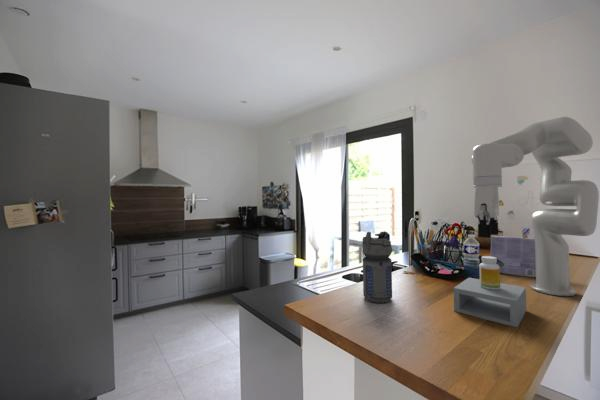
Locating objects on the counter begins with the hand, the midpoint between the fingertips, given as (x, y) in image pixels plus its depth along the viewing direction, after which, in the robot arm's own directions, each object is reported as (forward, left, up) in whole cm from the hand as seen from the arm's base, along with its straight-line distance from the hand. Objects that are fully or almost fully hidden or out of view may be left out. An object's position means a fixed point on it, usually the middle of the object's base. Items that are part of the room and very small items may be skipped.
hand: (488, 235), depth 86 cm
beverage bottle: (+15, -31, -24) cm, 42 cm away
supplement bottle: (0, 0, -17) cm, 17 cm away
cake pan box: (-57, -2, -24) cm, 62 cm away
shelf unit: (0, 0, -24) cm, 24 cm away
